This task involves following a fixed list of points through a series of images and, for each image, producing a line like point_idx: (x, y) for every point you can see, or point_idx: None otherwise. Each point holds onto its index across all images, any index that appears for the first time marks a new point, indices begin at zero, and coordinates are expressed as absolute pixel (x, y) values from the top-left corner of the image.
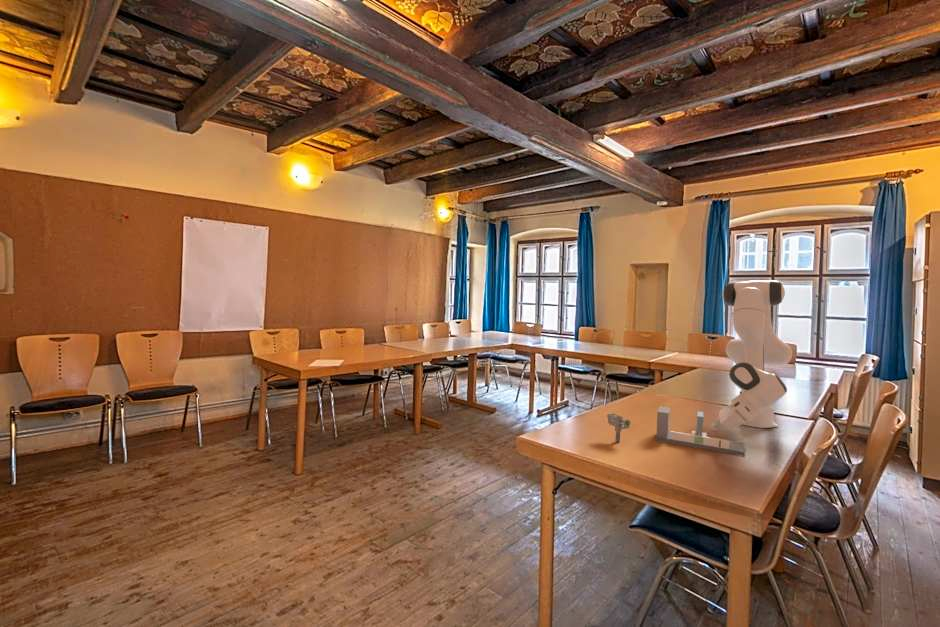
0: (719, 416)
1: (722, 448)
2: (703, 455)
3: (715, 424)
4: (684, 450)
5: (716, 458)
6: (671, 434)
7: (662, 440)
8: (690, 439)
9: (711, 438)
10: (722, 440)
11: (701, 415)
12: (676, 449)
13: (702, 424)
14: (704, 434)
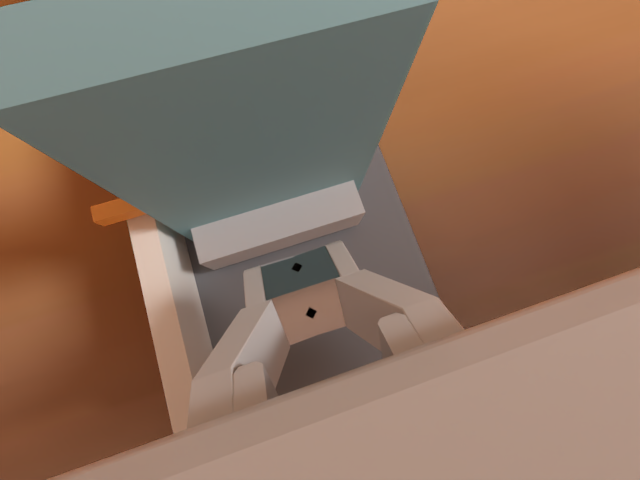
0: (461, 331)
1: None
2: (19, 321)
3: (232, 323)
4: (40, 193)
5: (14, 414)
6: None
7: None
8: None
9: (149, 321)
10: (172, 424)
11: (94, 54)
12: (23, 151)
13: (95, 181)
14: (296, 217)
